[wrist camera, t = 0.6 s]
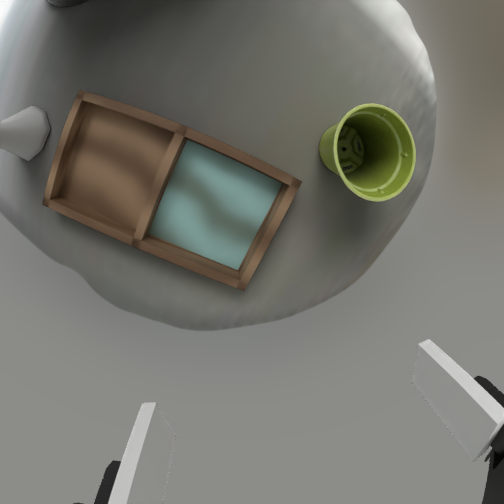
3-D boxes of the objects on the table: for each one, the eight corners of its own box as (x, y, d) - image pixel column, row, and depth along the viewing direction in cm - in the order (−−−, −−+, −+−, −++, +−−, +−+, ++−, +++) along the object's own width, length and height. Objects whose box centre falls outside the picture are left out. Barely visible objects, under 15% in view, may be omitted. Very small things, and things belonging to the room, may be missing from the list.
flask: (30, 170, 26) (-19, 183, 16) (8, 138, 23) (-40, 143, 14) (59, 127, 25) (10, 127, 15) (35, 96, 22) (-12, 89, 13)
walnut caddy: (90, 93, 24) (79, 89, 21) (294, 178, 31) (302, 181, 28) (54, 199, 28) (42, 204, 25) (241, 279, 35) (244, 290, 32)
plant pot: (317, 196, 32) (348, 214, 24) (294, 121, 28) (321, 113, 20) (380, 176, 32) (422, 187, 24) (362, 105, 28) (403, 98, 20)
